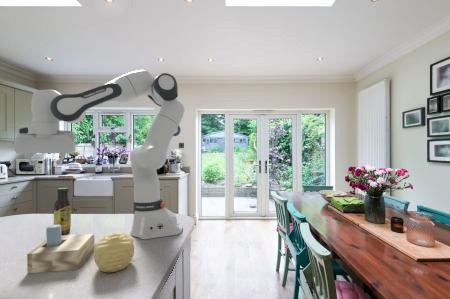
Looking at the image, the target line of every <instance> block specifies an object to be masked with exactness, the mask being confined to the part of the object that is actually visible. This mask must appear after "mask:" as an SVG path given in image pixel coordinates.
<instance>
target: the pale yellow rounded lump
mask: <svg viewBox="0 0 450 299" xmlns="http://www.w3.org/2000/svg"><path fill="white" fill-rule="evenodd" d="M134 242H135V238H134V237H133V236H131V235H130V236H129V235H127V234H126V233H125V232H121V233H119V232H117V233H112V234H106V235H104V237H102V239H100V240H99V241H97V242H94V251H93V252H94V253H93V260H94V262H95V265H96V266H97V268H98V269H99V270H100V271H101V272H103V273H116V272H118V271H119V272H120V271H122V270H124V269H125V268H127V267H128V266H129V265H130V263H131V262H132V261H133V258H134V255H135V244H134Z"/></svg>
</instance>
